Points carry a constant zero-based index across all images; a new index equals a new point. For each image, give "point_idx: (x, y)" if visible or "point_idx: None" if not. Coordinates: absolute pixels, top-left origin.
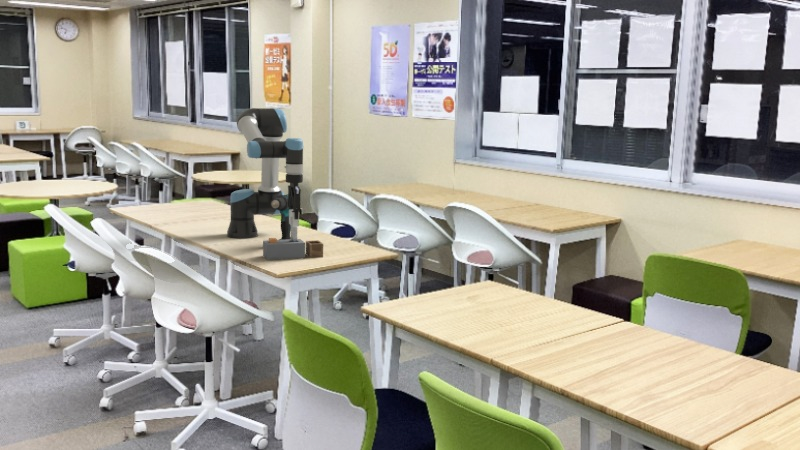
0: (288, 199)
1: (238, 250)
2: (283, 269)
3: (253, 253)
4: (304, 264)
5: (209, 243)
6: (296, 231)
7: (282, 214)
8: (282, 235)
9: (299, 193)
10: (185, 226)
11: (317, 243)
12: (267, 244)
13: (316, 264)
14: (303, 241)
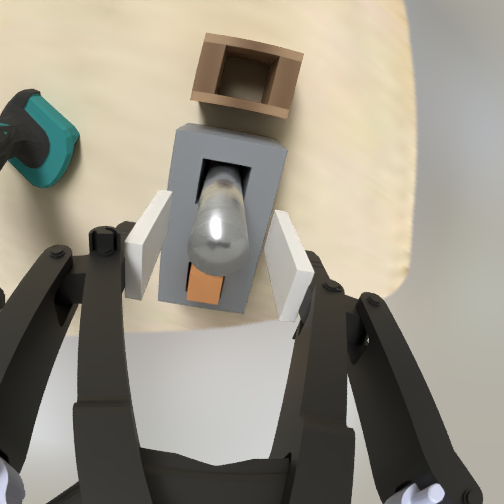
0: (47, 359)
1: None
2: (374, 274)
3: None
4: (362, 191)
5: None
6: (241, 196)
7: None
8: (13, 156)
9: (451, 465)
10: None
11: (281, 73)
12: (242, 311)
13: (384, 155)
14: (252, 142)
